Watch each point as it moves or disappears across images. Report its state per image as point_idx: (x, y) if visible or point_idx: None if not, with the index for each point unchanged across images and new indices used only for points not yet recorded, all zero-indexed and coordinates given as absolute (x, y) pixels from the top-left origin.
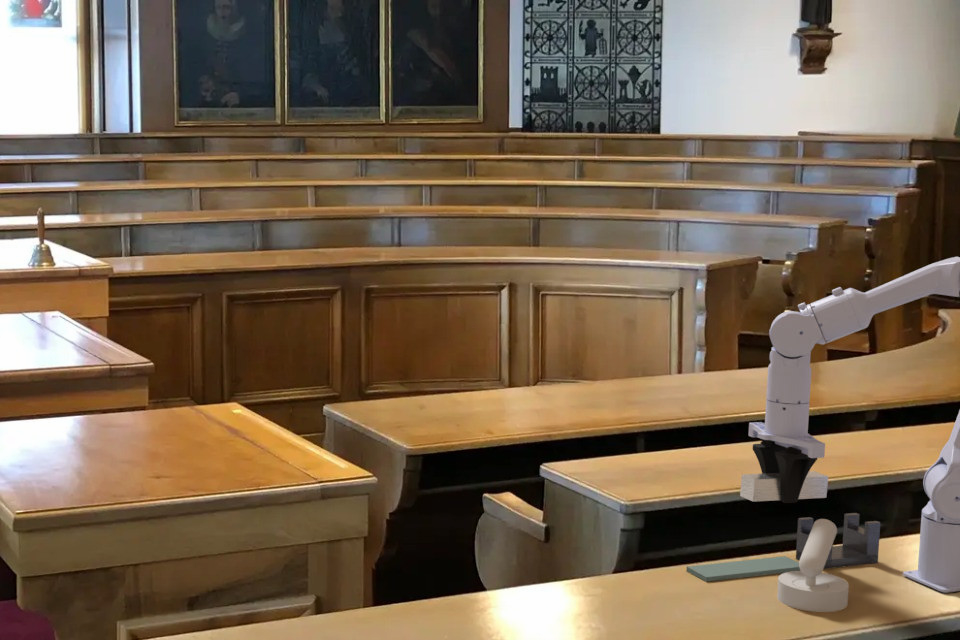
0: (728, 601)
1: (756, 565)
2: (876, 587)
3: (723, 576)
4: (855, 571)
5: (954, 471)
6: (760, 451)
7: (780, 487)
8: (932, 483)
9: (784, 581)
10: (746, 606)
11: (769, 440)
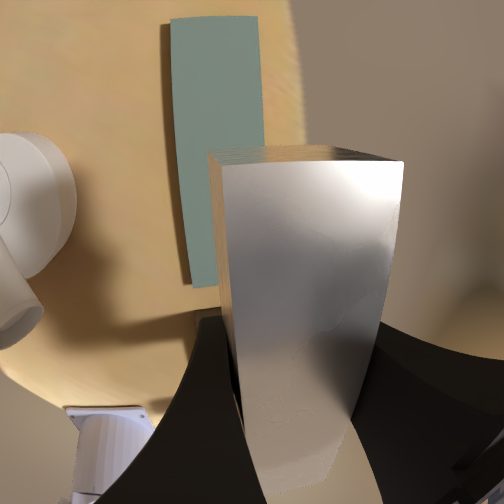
0: (50, 29)
1: None
2: (86, 349)
3: (171, 61)
4: (174, 362)
5: None
6: (487, 404)
7: (230, 348)
8: None
9: (2, 142)
10: (18, 56)
11: (493, 486)
